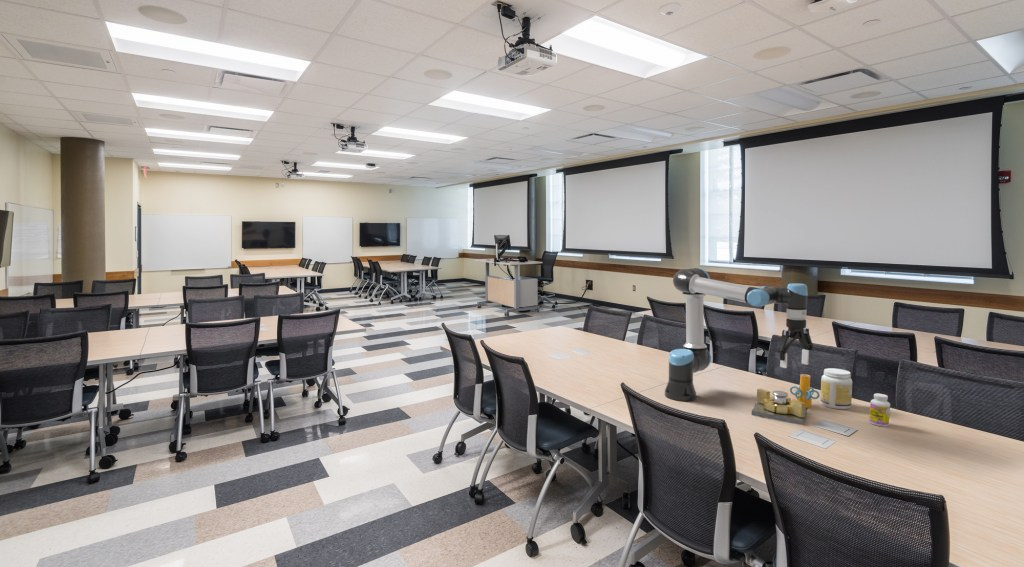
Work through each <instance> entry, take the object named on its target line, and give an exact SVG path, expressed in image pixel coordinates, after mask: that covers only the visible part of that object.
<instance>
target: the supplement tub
mask: <svg viewBox="0 0 1024 567" xmlns="http://www.w3.org/2000/svg"><path fill="white" fill-rule="evenodd" d="M851 377H852V376H851V372H850V371H849V370H846V369H841V368H834V367H833V368H832V367H831V368H829V367H828V368H824V370H823V375H821V379H820V380H821V381H820V382H821V383H820V403H821V405H822V406H824V407H826V408H830V409H834V410H849V409H850V408H851V407H852V400H853V399H852V398H853V380H852V378H851Z"/></svg>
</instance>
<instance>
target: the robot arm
mask: <svg viewBox="0 0 1024 567" xmlns="http://www.w3.org/2000/svg"><path fill="white" fill-rule="evenodd" d="M672 278H673V279H672V284H673V286H674V288H675V289H676V290H678V291H679V292H682V296H684V297H685V333H686V334H685V335H686V342H685V343H684V344H683V345H682V346H683V348H676V349H673V350H671V351H670V353H669V357H668V381H667V384H666V387H665V388H664V396H665V398H668V399H670V400H674V401H679V402H680V401H681V402H691V401H695V400H696V399H697V392H696V391H697V390H696V388H695V385H694V374H695V373H698V372H702V371H704V370H705V369H707V368H709V366H710V364H712V355H711V353H710V352H709V350H708V346H707V345H706V343H705V333H704V332H705V330H704V329H705V328H704V324H705V323H704V322H705V321H704V297H705V296H706V295H708V296H713V297H717V298H722V299H727V300H732V301H737V302H741V303H745V304H749V305H751V306H752V307H758V308H761V307H764V306H769V305H773V304H775V305H776V304H780V305H786V316H785V317H786V320H785V322H786V323H785V324H786V325H785V326H786V328H788V329H787V330H786V329H783V330H782V332H781V333H782V334H781V337H780V339H779V342H778V345H777V346H776V352H778V353H779V361H780V362H779V363H780V364H779V367H780V368H783V369H787V368H788V353H787V351H788V350H789V349H790V347H791V346H792V344H793V342H795V341H797V340H798V341H799V343H800V345H801V346H802V348H803V349H801V364H802V365H806V366H807V365H809V359H810V358H809V357H810V351H812V350H813V348H814V344H813V341H812V338H811V335H810V329H809V328H808V327H807V320H806V319H807V310H808V307H807V306H808V296H809V294H808V286H807V284H806V283H796V282H795V283H791V282H790V283H789V284H787V287H784V286H783V287H780V286H771V285H765V286H763V285H762V286H760V287H755V286H749V285H743V284H739V283H732V282H727V281H723V280H717V279H712V278H711V277H710V274H709V273H708V272H707V271H706V270H705V269H703V268H700V267H698V268H697V267H692V268H683V269H680V270H678V271H676V272H675V274H674V275H673V277H672Z"/></svg>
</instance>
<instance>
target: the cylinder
mask: <svg viewBox="0 0 1024 567" xmlns="http://www.w3.org/2000/svg"><path fill="white" fill-rule="evenodd" d="M799 376H800V377H799V386H796V385H793V386H791V387H790V389H789V392H790V393H791V394H792V395H794V397H795V398H796V400H797V401H800V402H803V403H805V408H807V409H810V408H812V400H817V399H819V398H820V397H821V394H820V393H819V391H818V390H815V389H814V388H813V387H812V386H810V385H811V375H809V374H806V373H801V374H799ZM793 389H796V390H795V393H794V392H793ZM814 393H816V395H817V396H815V397H814V396H813V395H814Z"/></svg>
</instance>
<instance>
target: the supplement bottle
mask: <svg viewBox="0 0 1024 567" xmlns="http://www.w3.org/2000/svg"><path fill="white" fill-rule="evenodd" d="M888 398H889V396H888V394H884V393H878V392H877V393H876V392H875V393H874V394H873V398H872V399H871V400H870V402H869V403H870V406H869V418H868V419H869V420H868V421H869V423H870V424H872V425H874V426H876V427H884V428H887V427H888V426H889V424H890V412H891V403H890V402H889V401H888Z"/></svg>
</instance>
